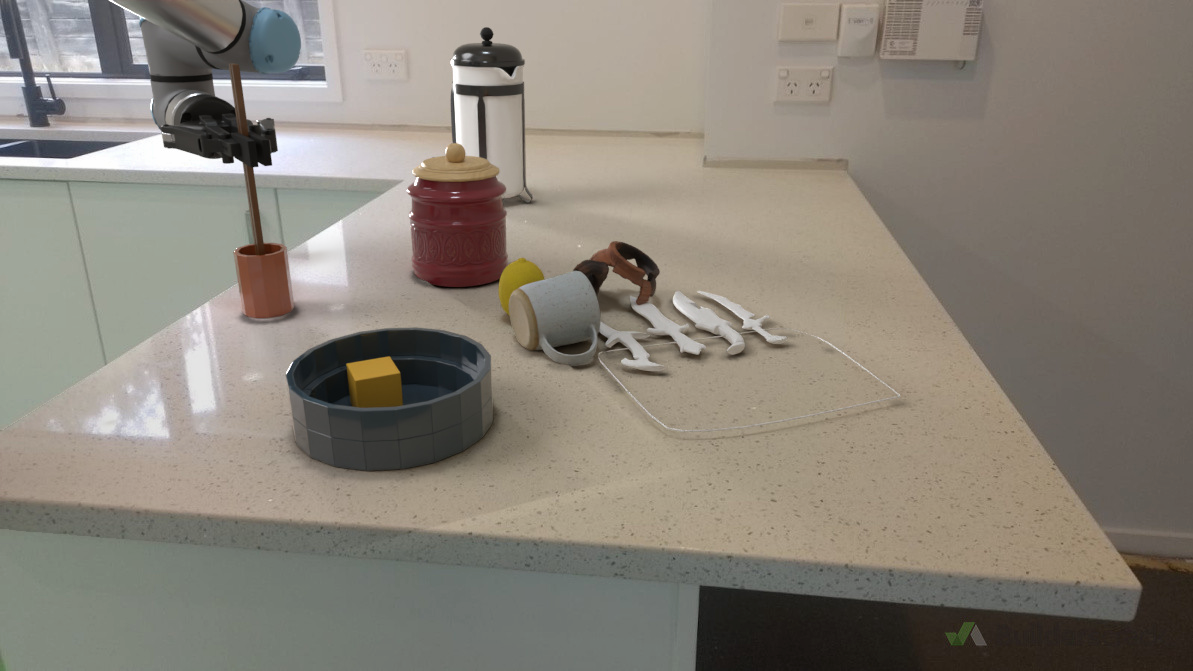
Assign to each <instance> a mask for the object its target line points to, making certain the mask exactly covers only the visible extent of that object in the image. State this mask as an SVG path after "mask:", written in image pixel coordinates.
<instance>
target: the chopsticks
mask: <svg viewBox="0 0 1193 671" xmlns="http://www.w3.org/2000/svg"><path fill="white" fill-rule="evenodd" d="M228 71H229V77H230V83H231V90H232V97H233V107H234V108H235V113H236V120H237V127H238V133H240V134H242V135H244V136H246V137H248V138H249V133H248V126H247V119H248V118H247V112H246V106H245V105H246V104H245V98H244V91H243V90H244V88H243V83H242V76H241V71H240V68H239V64H235V63H230V64H229V70H228ZM242 169H243V176H244V184H245V188H246V189H245V190H246V195H247V203H248V210H249V211H248V212H249V217H250V225H251V232H252V239H253V244H254V246H255V253H256V255H265V249H264V243H265V242H264V236H263V229H262V221H261V212H260V206H259V199H258V191H257V185H256V177H255V171H254V170H255V169H254V167H252V168H251V167H249V166H248V165H246V164H244V163H243V162H242Z"/></svg>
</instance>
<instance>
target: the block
mask: <svg viewBox="0 0 1193 671" xmlns="http://www.w3.org/2000/svg"><path fill="white" fill-rule="evenodd" d="M346 366H347V375H348V385H349V394H350V402H351V404H352V406H353V407H359V408H373V407H397V406H403V398H402V386H401V374H400V372H399V370H398V368H397V367H396V365H395V364H394V362H393V361H392V359H391V358H390V357H383V358H377V359H371V360H365V361H359V362H353V363H347V364H346Z"/></svg>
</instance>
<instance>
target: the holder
mask: <svg viewBox="0 0 1193 671" xmlns="http://www.w3.org/2000/svg"><path fill="white" fill-rule="evenodd" d="M287 248H288V247H287V246H285V244H283V243H277V242H264V249H265V255H256V253H255V246H254V243H248V244H244V245H242V246H239V247H236V248H235V249H234V250H233V252H232V253H233V254H232V255H233V259H234V265H235V272H236V273H235V274H236V278H237V284H238V285H237V286H238V292H239V298H240V303H241V311H242V313H243V315H244V316H246V317H248V318H252V319H270V318H271V319H272V318H277V317H281V316H284V315H287V314H289V313H291V312H292V311H293V310H294V308H295V301H294V292H293V285H292V277H291V270H290V263H289V255H288V254H289V253H288V249H287Z"/></svg>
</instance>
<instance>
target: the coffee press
mask: <svg viewBox="0 0 1193 671" xmlns="http://www.w3.org/2000/svg"><path fill="white" fill-rule="evenodd" d="M494 35H495V33H494V31H493V29H492V28H490V27H489V26H488V27H487V26H486V27H482V28H481V30H480V33H479V36H480V38H481V40H482V41H481V42H472V43H471V42H470V43H465V44H461V45H460V46H458V47H457V48H455V50H454V51H453V53H452V57H451V58H450V59H449V63H450V66H451V67H452V80H453V81H451V91H450V124H451V139H452V140H451V141H452V143H458V144H461V145H462V146H463V147H464V149H465V153H466V156H475V157H481V158H484V159H487V160H488V161H489V163H491V164H492V165H494V166H496V167H498V168H499V170H500V172H499V174H498V175H496V177H497V179H498V181H500V182H501V183H503V184H504V185H505V186H506V192H505V193H504V194H503V196H502V199H503V200H505V199H510V198H514V197H515V198H516V197H517V198H519V199H521V200H522V201H523V202H524V203H526V204H530V203H531V202H532V200H533V199H534V196H533V194H532V193H531V192H530V190H529V189H528V186H527V168H526V167H527V160H526V159H527V157H526V154H527V153H526V109H525V108H526V107H525V106H526V104H525V81H524V67H525V64H526V59H524V58H523V55H522V53H521V51H520V50H519V49H518V48H517V47H516V46H514V45H511V44H508V43H501V42H493V41H492V39H493V37H494ZM524 190H525V192H526V194H527V196H528V197H529V198H530V200H527V198H526V197H524V196H523V195H521V194H522V193H523V191H524Z"/></svg>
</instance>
